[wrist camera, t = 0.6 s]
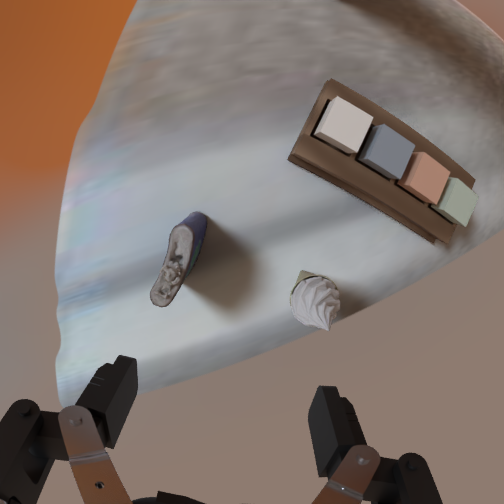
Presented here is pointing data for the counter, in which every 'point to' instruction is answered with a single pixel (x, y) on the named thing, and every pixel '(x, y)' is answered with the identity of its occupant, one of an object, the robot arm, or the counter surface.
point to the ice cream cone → (315, 300)
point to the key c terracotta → (424, 177)
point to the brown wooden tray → (365, 177)
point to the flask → (179, 258)
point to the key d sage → (456, 202)
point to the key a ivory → (343, 125)
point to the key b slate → (387, 152)
